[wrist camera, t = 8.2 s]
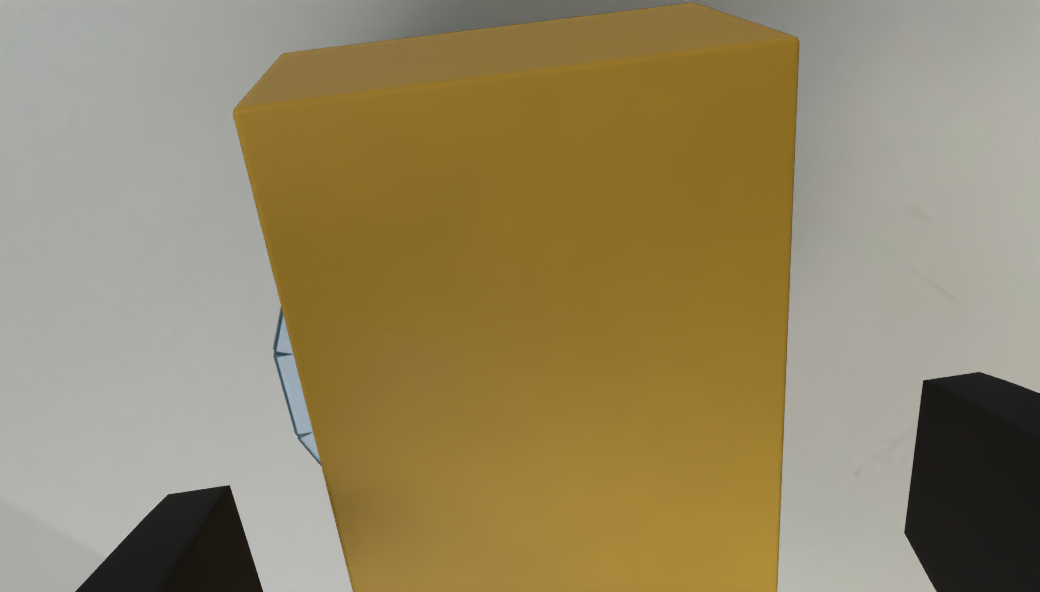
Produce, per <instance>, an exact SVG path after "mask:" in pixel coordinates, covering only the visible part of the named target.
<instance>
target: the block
mask: <svg viewBox="0 0 1040 592" xmlns="http://www.w3.org/2000/svg"><path fill="white" fill-rule="evenodd" d="M798 62H799V40H798V38H797V37H795V36H792V35H789V34H786V33H783V32H780V31H777V30H774V29H771V28H769V27H766V26H763V25H760V24H757V23H754V22H751V21H748V20H745V19H742V18H739V17H736V16H733V15H730V14H727V13H724V12H721V11H718V10H715V9H712V8H709V7H706V6H703V5H700V4H697V3H694V2H693V3H685V4H677V5H669V6H661V7H653V8H645V9H637V10H629V11H620V12H612V13H604V14H596V15H588V16H580V17H572V18H564V19H556V20H548V21H539V22H531V23H523V24H515V25H507V26H499V27H491V28H483V29H475V30H467V31H458V32H450V33H442V34H434V35H426V36H418V37H410V38H402V39H394V40H386V41H377V42H369V43H361V44H353V45H345V46H337V47H329V48H321V49H313V50H305V51H296V52H288V53H284V54H282V55H280V57H279V58H278V59H277V60H276V61H275V62H274V63H273V65H272V66H271V67H270V68H269V69H268V70H267V71H266V73H265V74H264V75H263V76H262V77H261V78H260V79H259V81H258V82H257V83H256V84H255V85H254V86H253V88H252V89H251V90H250V91H249V92H248V93H247V94H246V96H245V97H244V98H243V99H242V100H241V101H240V102H239V104H238V105H237V106H236V107H235V108H234V111H233V116H234V120H235V124H236V128H237V132H238V136H239V140H240V144H241V148H242V152H243V156H244V160H245V164H246V168H247V172H248V176H249V180H250V184H251V188H252V192H253V196H254V200H255V204H256V208H257V212H258V216H259V220H260V224H261V228H262V232H263V236H264V240H265V244H266V248H267V252H268V256H269V260H270V264H271V268H272V272H273V276H274V279H275V283H276V287H277V291H278V295H279V299H280V303H281V307H282V311H283V315H284V319H285V323H286V327H287V331H288V335H289V339H290V343H291V347H292V351H293V355H294V359H295V363H296V367H297V371H298V375H299V379H300V383H301V387H302V391H303V395H304V399H305V403H306V407H307V411H308V415H309V419H310V423H311V427H312V431H313V435H314V439H315V443H316V447H317V450H318V454H319V458H320V462H321V466H322V470H323V474H324V478H325V482H326V486H327V490H328V494H329V498H330V502H331V506H332V510H333V514H334V518H335V522H336V526H337V530H338V534H339V538H340V542H341V546H342V550H343V554H344V558H345V562H346V566H347V570H348V574H349V578H350V582H351V586H352V590H353V592H777V584H778V559H779V534H780V509H781V484H782V459H783V435H784V410H785V385H786V360H787V335H788V310H789V285H790V261H791V236H792V211H793V186H794V161H795V136H796V111H797V87H798Z"/></svg>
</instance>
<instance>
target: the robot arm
mask: <svg viewBox="0 0 1040 592" xmlns="http://www.w3.org/2000/svg"><path fill="white" fill-rule="evenodd" d="M904 533H905V535H906V537H907V538H908V540H909V542H910V544H911V546H912V548H913V550H914V551H915V553H916V555H917V557H918V559H919V561H920V563H921V564H922V566H923V568H924V570H925V572H926V574H927V575H928V577H929V579H930V581H931V583H932V584H933V586H934V588H935V589H936V591H937V592H1040V393H1037V392H1035V391H1032V390H1029V389H1027V388H1024V387H1022V386H1019V385H1016V384H1013V383H1011V382H1008V381H1005V380H1002V379H999V378H996V377H993V376H990V375H987V374H984V373H981V372H977V373H970V374H963V375H957V376H950V377H943V378H937V379H930V380H924V381H923V387H922V395H921V403H920V411H919V419H918V427H917V435H916V443H915V451H914V460H913V468H912V476H911V484H910V492H909V500H908V508H907V516H906V524H905V532H904ZM76 592H263V590H262V587H261V583H260V580H259V577H258V574H257V571H256V567H255V564H254V561H253V558H252V555H251V552H250V548H249V545H248V542H247V539H246V536H245V532H244V529H243V526H242V523H241V520H240V517H239V513H238V510H237V507H236V504H235V501H234V497H233V494H232V491H231V488H230V485H228V486H221V487H215V488H208V489H201V490H195V491H188V492H182V493H175V494H168V495H167V496H166V497H165V498H164V499H163V500H162V501H161V502H160V503H159V504H158V505H157V506H156V507H155V508H154V509H153V510H152V511H151V512H150V513H149V514H148V515H147V516H146V517H145V518H144V519H143V520H142V521H141V522H140V523H139V524H138V525H137V526H136V527H135V529H134V530H133V531H132V532H131V533H130V534H129V535H128V536H127V537H126V538H125V539H124V540H123V541H122V542H121V543H120V544H119V546H118V547H117V548H116V549H115V550H114V551H113V552H112V553H111V554H110V555H109V556H108V557H107V558H106V559H105V561H104V562H103V563H102V564H101V565H100V566H99V567H98V568H97V569H96V570H95V571H94V572H93V573H92V574H91V576H90V577H89V578H88V579H87V580H86V581H85V582H84V583H83V584H82V585H81V586H80V587H79V588H78V589H77V590H76Z"/></svg>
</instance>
